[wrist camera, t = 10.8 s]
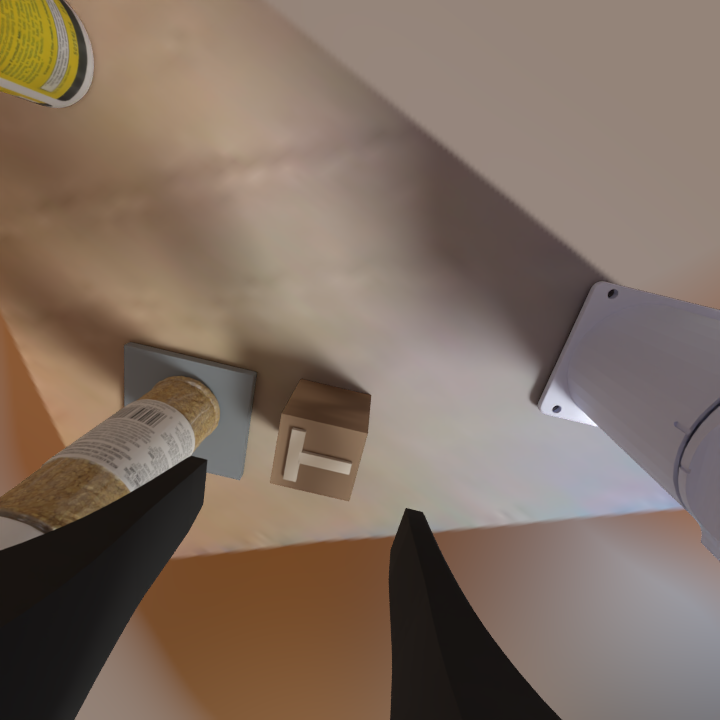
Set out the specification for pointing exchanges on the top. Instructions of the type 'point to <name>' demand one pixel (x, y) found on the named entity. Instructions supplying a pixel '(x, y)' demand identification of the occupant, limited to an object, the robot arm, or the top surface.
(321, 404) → the walnut block
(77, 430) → the top surface
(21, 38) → the supplement bottle
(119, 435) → the sprinkles bottle
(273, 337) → the top surface
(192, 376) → the grey mat
